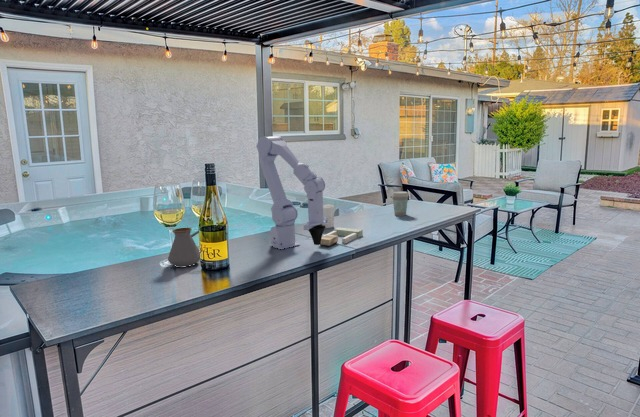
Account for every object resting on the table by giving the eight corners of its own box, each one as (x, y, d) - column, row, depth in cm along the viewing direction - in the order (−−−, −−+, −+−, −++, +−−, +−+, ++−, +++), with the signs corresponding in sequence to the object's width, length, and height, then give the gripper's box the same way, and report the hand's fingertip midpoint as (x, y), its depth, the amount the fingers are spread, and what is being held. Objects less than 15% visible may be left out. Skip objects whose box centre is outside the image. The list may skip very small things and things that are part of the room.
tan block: (329, 247, 168) (329, 239, 167) (318, 245, 170) (318, 238, 170) (338, 243, 173) (338, 235, 173) (327, 241, 176) (327, 234, 176)
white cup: (315, 228, 201) (314, 207, 199) (322, 224, 208) (322, 204, 206) (330, 229, 198) (329, 208, 196) (337, 225, 204) (337, 205, 203)
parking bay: (346, 243, 172) (346, 237, 172) (321, 240, 178) (321, 234, 178) (362, 235, 184) (362, 229, 184) (338, 232, 190) (338, 227, 190)
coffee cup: (388, 214, 226) (388, 192, 223) (402, 212, 229) (402, 190, 227) (398, 217, 218) (398, 194, 216) (411, 215, 222) (412, 192, 219)
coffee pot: (175, 272, 145) (170, 229, 142) (164, 264, 154) (159, 223, 151) (232, 258, 158) (229, 219, 155) (219, 252, 167) (216, 214, 164)
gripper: (314, 214, 154) (315, 250, 156) (334, 207, 166) (335, 240, 168) (298, 212, 158) (299, 248, 160) (319, 206, 170) (320, 239, 172)
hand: (317, 244), depth 164 cm, fingers closed
